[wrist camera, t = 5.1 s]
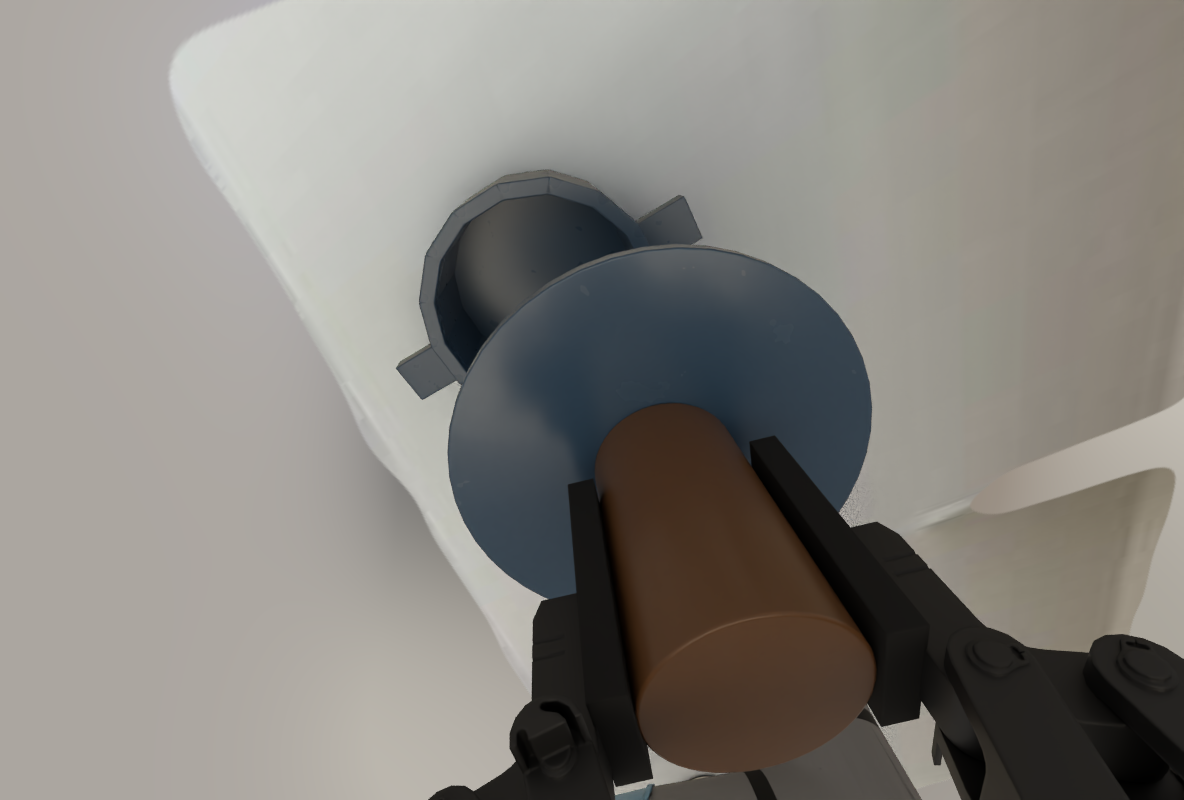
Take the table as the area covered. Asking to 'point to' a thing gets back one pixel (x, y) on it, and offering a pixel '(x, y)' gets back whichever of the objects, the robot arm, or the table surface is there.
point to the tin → (518, 260)
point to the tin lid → (680, 486)
